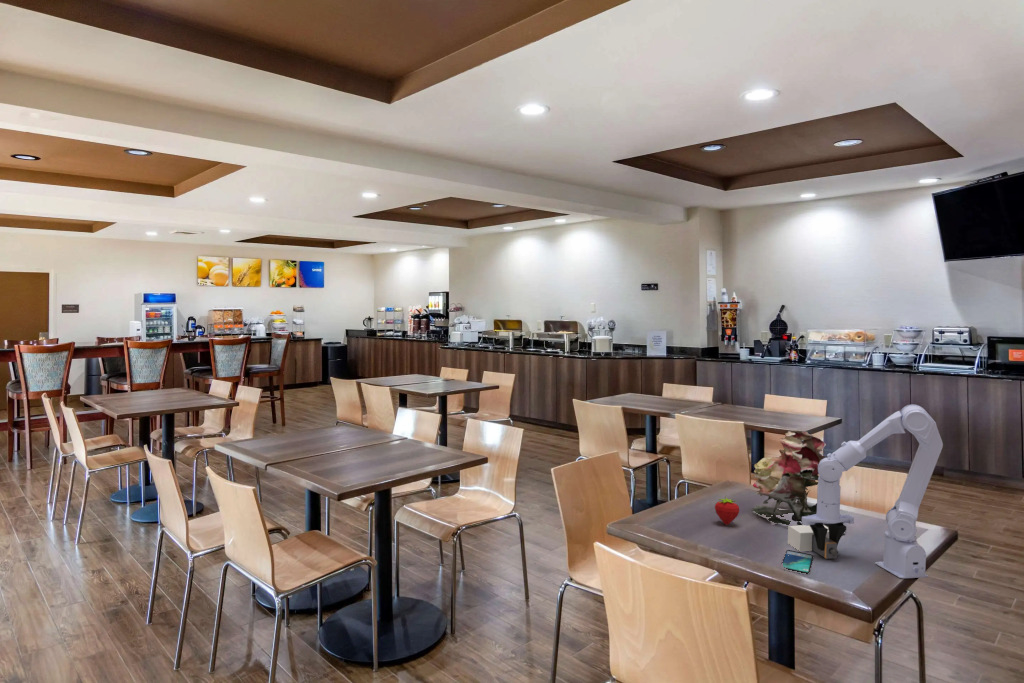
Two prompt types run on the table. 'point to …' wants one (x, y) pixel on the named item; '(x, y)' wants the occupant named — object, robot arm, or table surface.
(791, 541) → the socket block
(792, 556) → the smartphone
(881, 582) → the table surface
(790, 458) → the rose bouquet
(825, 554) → the plug
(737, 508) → the strawberry
